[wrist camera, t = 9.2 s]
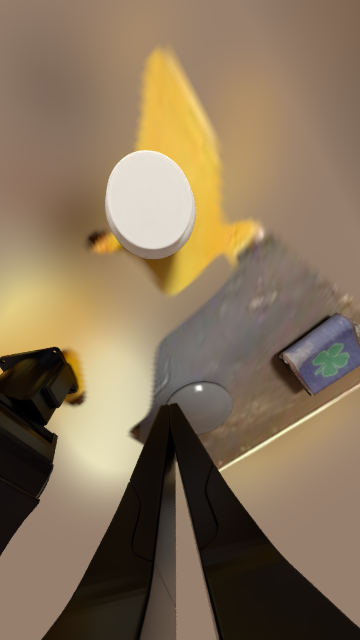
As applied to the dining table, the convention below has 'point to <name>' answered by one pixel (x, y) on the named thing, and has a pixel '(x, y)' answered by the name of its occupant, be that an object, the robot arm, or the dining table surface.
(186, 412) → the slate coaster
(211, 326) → the dining table surface
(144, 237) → the supplement bottle
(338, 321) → the flask
